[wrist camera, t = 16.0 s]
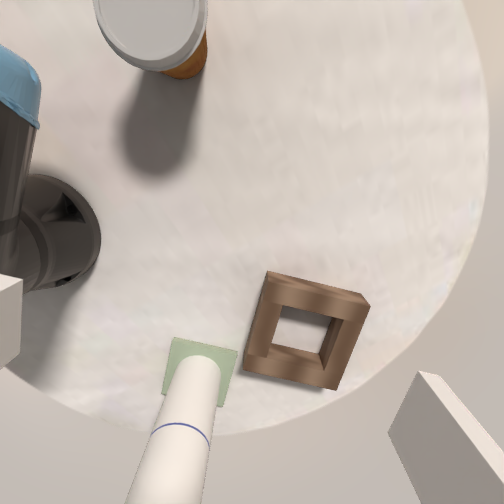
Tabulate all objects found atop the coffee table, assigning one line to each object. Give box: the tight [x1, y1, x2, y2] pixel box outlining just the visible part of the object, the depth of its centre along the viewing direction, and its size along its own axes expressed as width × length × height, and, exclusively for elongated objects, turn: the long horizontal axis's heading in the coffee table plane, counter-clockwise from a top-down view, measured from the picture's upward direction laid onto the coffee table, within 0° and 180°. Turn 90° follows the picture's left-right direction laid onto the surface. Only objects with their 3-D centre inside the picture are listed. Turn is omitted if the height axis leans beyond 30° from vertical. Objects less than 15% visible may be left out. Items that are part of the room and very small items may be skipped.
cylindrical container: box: [125, 355, 221, 504], centre depth 36 cm, size 7×7×25 cm
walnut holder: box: [243, 271, 371, 391], centre depth 45 cm, size 14×14×4 cm
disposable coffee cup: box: [93, 0, 208, 79], centre depth 31 cm, size 10×10×12 cm
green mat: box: [161, 337, 238, 407], centre depth 49 cm, size 10×10×1 cm
